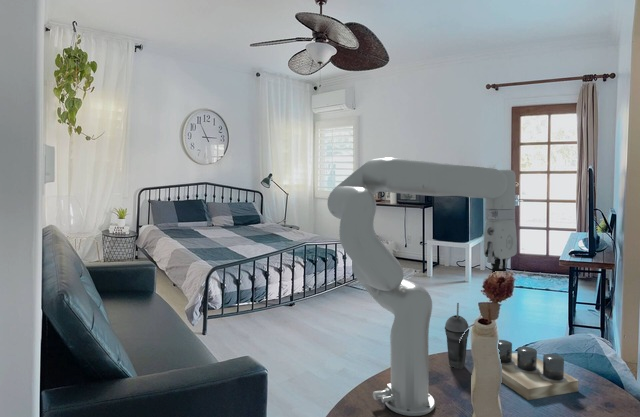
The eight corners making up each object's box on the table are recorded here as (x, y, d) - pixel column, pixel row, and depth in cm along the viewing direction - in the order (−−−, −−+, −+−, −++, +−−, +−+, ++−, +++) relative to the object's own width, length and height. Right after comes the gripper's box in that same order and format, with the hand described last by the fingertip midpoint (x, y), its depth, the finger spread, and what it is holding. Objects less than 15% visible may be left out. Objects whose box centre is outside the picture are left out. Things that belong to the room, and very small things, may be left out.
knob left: (500, 363, 126) (501, 347, 126) (490, 357, 131) (490, 340, 131) (515, 361, 128) (515, 345, 127) (504, 354, 132) (504, 339, 132)
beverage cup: (466, 360, 137) (466, 298, 135) (471, 371, 130) (472, 305, 128) (442, 360, 138) (442, 298, 136) (446, 370, 130) (447, 305, 129)
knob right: (552, 381, 115) (553, 362, 115) (538, 372, 120) (539, 355, 120) (568, 378, 117) (568, 360, 116) (553, 370, 121) (554, 353, 121)
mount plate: (528, 400, 112) (528, 388, 112) (480, 367, 132) (480, 357, 131) (578, 391, 117) (578, 379, 116) (525, 360, 136) (525, 351, 136)
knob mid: (525, 372, 121) (526, 354, 120) (513, 364, 126) (513, 347, 125) (540, 369, 122) (541, 352, 122) (527, 362, 127) (528, 345, 127)
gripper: (499, 218, 110) (498, 289, 111) (526, 214, 119) (525, 279, 121) (472, 216, 116) (471, 284, 117) (500, 212, 125) (499, 275, 127)
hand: (499, 281), depth 119 cm, fingers closed
